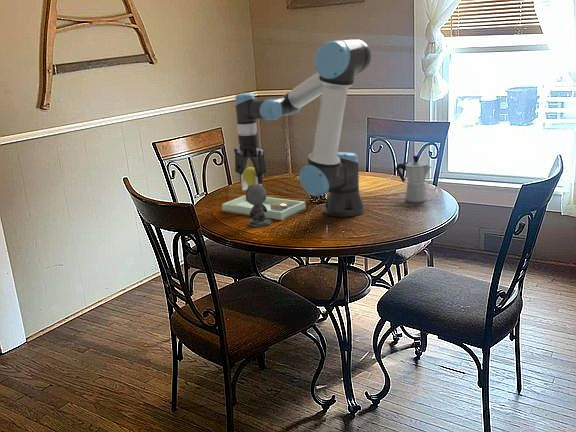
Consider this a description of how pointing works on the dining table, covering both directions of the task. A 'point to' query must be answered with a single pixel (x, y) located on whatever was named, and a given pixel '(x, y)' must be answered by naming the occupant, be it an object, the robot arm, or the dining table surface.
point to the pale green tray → (245, 208)
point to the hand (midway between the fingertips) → (252, 190)
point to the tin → (279, 206)
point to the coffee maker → (414, 180)
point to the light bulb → (249, 176)
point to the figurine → (257, 206)
